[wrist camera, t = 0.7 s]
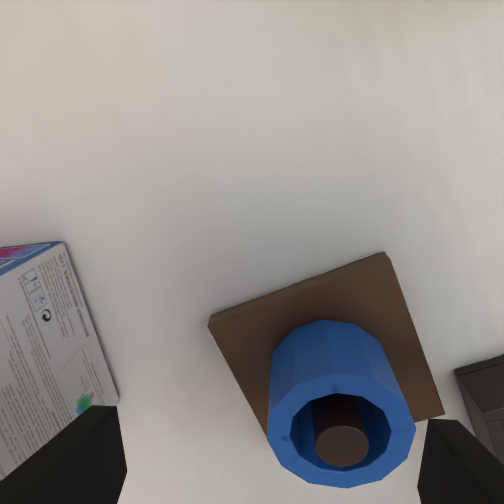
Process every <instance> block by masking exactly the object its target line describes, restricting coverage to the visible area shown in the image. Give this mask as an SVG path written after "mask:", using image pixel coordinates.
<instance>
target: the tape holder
mask: <svg viewBox="0 0 504 504" xmlns="http://www.w3.org/2000/svg"><path fill="white" fill-rule="evenodd" d="M319 320H330V321H338V322H345V323H353V324H356V325H357V326H359V327H360V328H362V329H363V330H365V331H366V332H367V333H369V334H370V335H372V336H373V337H374V338H376V339H377V340H379V342H380V344H381V346H382V348H383V350H384V353H385V355H386V357H387V360H388V362H389V364H390V366H391V369H392V371H393V373H394V376H395V378H396V380H397V382H398V385H399V387H400V389H401V392H402V394H403V396H404V399H405V401H406V404H407V406H408V409H409V411H410V414H411V416H412V419H413V422H414V423H415V422H419V421H423V420H426V419H430V418H434V417H437V416H441V415H444V414H445V412H444V409H443V406H442V403H441V401H440V398H439V395H438V392H437V389H436V386H435V384H434V381H433V378H432V375H431V372H430V370H429V367H428V364H427V361H426V358H425V356H424V353H423V350H422V347H421V344H420V341H419V339H418V336H417V333H416V330H415V327H414V325H413V322H412V319H411V316H410V313H409V311H408V308H407V305H406V302H405V299H404V296H403V294H402V291H401V288H400V285H399V282H398V280H397V277H396V274H395V271H394V268H393V266H392V263H391V260H390V258H389V257H388V256H387V254H386V253H385V252H381V253H379V254H376V255H373V256H371V257H368V258H365V259H362V260H360V261H357V262H354V263H352V264H349V265H346V266H344V267H341V268H338V269H335V270H333V271H330V272H327V273H325V274H322V275H319V276H317V277H314V278H311V279H309V280H306V281H303V282H300V283H298V284H295V285H292V286H290V287H287V288H284V289H282V290H279V291H276V292H273V293H271V294H268V295H265V296H263V297H260V298H257V299H255V300H252V301H249V302H246V303H244V304H241V305H238V306H236V307H233V308H230V309H228V310H225V311H222V312H219V313H217V314H214V315H211V316H210V319H209V322H208V324H207V326H208V328H209V330H210V332H211V334H212V336H213V337H214V339H215V341H216V343H217V345H218V347H219V349H220V351H221V352H222V354H223V356H224V358H225V360H226V362H227V364H228V365H229V367H230V369H231V371H232V373H233V375H234V377H235V378H236V380H237V382H238V384H239V386H240V388H241V390H242V392H243V393H244V395H245V397H246V399H247V401H248V403H249V405H250V406H251V408H252V410H253V412H254V414H255V416H256V418H257V419H258V421H259V423H260V425H261V427H262V429H263V431H264V433H265V434H266V436H267V422H268V402H269V382H270V371H271V364H272V357H273V352H274V350H275V349H276V348H277V347H278V346H279V344H280V343H281V342H282V341H283V340H284V339H285V338H286V337H287V336H288V334H289V333H290V332H291V331H292V330H293V329H296V328H299V327H302V326H305V325H308V324H310V323H313V322H316V321H319ZM310 401H311V410H312V420H313V430H314V440H315V449H316V452H317V454H318V455H319V457H320V458H321V459H322V460H323V461H325V462H326V463H328V464H330V465H333V466H339V467H345V466H351V465H354V464H356V463H358V462H360V461H361V460H362V459H363V458H364V457H365V456H366V454H367V452H368V449H369V442H368V438H367V434H366V430H365V427H364V423H363V419H362V415H361V412H360V408H359V404H358V400H357V397H356V395H348V394H341V393H334V394H330V395H327V396H324V397H320V398H317V399H314V400H310Z"/></svg>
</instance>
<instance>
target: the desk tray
mask: <svg viewBox="0 0 504 504" xmlns="http://www.w3.org/2000/svg"><path fill="white" fill-rule="evenodd" d="M454 373H455V376H456V379H457V382H458V385H459V388H460V391H461V394H462V397H463V400H464V403H465V406H466V409H467V412H468V415H469V418H470V421H471V424H472V427H473V430H474V433H475V436H476V439H478V440H479V441H480V442H481V443H482V444H483V445H484V446H485V447H486V448H487V449H488V450H489V451H490V452H491V453H492V454H493V455H494V456H495V457H496V458H497V459H498V460H499V461H500V462H501V463H502V464H503V465H504V356H500V357H497V358H494V359H490V360H487V361H484V362H480V363H477V364H473V365H470V366H467V367H463V368H460V369H456V370H454Z"/></svg>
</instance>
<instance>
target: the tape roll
mask: <svg viewBox="0 0 504 504" xmlns="http://www.w3.org/2000/svg"><path fill="white" fill-rule="evenodd" d="M334 393H341V394H348V395H356V397H357V400H358V404H359V408H360V412H361V415H362V419H363V423H364V427H365V430H366V434H367V438H368V442H369V449H368V452H367V454H366V456H365V457H364V458H363V459H362V460H361V461H360V462H358V463H356V464H354V465H351V466H345V467H339V466H333V465H330V464H328V463H326V462H325V461H323V460H322V459H321V458H320V457H319V455H318V454H317V452H316V449H315V440H314V430H313V420H312V410H311V401H310V400H314V399H317V398H320V397H324V396H327V395H330V394H334ZM415 432H416V427H415V424H414V422H413V419H412V416H411V414H410V411H409V409H408V406H407V404H406V401H405V399H404V396H403V394H402V392H401V389H400V387H399V385H398V382H397V380H396V378H395V376H394V373H393V371H392V369H391V366H390V364H389V362H388V360H387V357H386V355H385V353H384V350H383V348H382V346H381V344H380V342H379V340H377V339H376V338H374V337H373V336H372V335H370V334H369V333H367V332H366V331H365V330H363V329H362V328H360V327H359V326H357V325H356V324H353V323H345V322H338V321H330V320H319V321H316V322H313V323H310V324H308V325H305V326H302V327H299V328H296V329H293V330H292V331H291V332H290V333H289V334H288V336H287V337H286V338H285V339H284V340H283V341H282V342H281V343H280V344H279V346H278V347H277V348H276V349H275V350H274V352H273V357H272V364H271V371H270V382H269V402H268V422H267V440H268V442H269V444H270V445H271V447H272V449H273V451H274V453H275V455H276V457H277V459H278V460H279V462H280V464H281V465H282V466H283V467H284V468H286V469H287V470H289V471H291V472H292V473H294V474H295V475H297V476H299V477H300V478H302V479H304V480H305V481H307V482H308V483H312V484H319V485H326V486H332V487H339V488H351V487H355V486H359V485H363V484H367V483H371V482H375V481H379V480H382V479H383V478H384V477H385V476H387V475H388V474H389V473H390V472H391V471H393V470H394V469H395V468H396V467H398V466H399V465H400V464H401V463H402V462H404V461H405V460H406V459H407V457H408V454H409V451H410V447H411V444H412V441H413V438H414V435H415Z"/></svg>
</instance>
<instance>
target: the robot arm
mask: <svg viewBox="0 0 504 504" xmlns="http://www.w3.org/2000/svg"><path fill="white" fill-rule="evenodd" d="M126 474H127V466H126V460H125V454H124V448H123V442H122V436H121V430H120V424H119V418H118V412H117V406H101V405H92V406H90V407H89V408H88V409H86V410H85V411H84V412H83V413H82V414H80V415H79V416H78V417H77V418H76V419H74V420H73V421H72V422H71V423H70V424H68V425H67V426H66V427H65V428H64V429H62V430H61V431H60V432H59V433H58V434H57V435H55V436H54V437H53V438H52V439H51V440H49V441H48V442H47V443H46V444H45V445H44V446H42V447H41V448H40V449H39V450H38V451H36V452H35V453H34V454H33V455H32V456H30V457H29V458H28V459H27V460H25V461H24V462H23V463H22V464H21V465H19V466H18V467H17V468H16V469H15V470H13V471H12V472H11V473H10V474H9V475H7V476H6V477H5V478H4V479H2V480H1V481H0V504H117V502H118V499H119V496H120V493H121V490H122V487H123V484H124V480H125V477H126ZM417 488H418V492H419V496H420V500H421V504H504V465H503V464H502V463H501V462H500V461H499V460H498V459H497V458H496V457H495V456H494V455H493V454H492V453H491V452H490V451H489V450H488V449H487V448H486V447H485V446H484V445H483V444H482V443H481V442H480V441H479V440H478V439H476V438H475V437H474V436H473V435H472V434H471V433H470V432H469V431H468V430H467V429H466V428H465V427H464V426H463V425H462V424H461V423H460V422H459V421H458V420H443V419H429V420H428V426H427V432H426V438H425V444H424V450H423V456H422V462H421V468H420V474H419V480H418V485H417Z"/></svg>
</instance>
